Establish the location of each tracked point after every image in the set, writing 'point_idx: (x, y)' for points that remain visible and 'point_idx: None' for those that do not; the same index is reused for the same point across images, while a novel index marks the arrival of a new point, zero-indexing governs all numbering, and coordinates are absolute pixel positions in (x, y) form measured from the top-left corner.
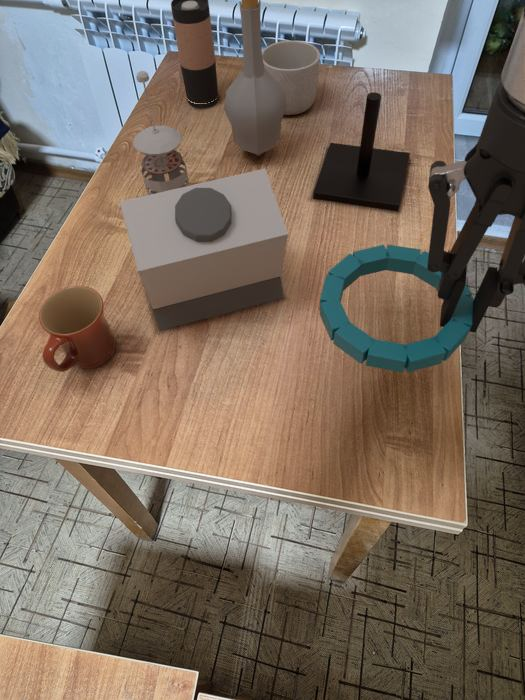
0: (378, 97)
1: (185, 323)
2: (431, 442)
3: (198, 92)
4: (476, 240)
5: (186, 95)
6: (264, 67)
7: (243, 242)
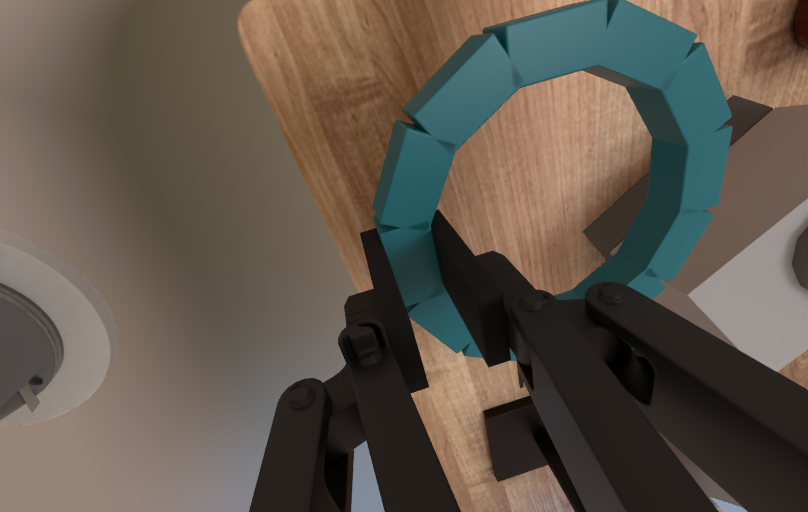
0: None
1: None
2: (319, 117)
3: None
4: (622, 463)
5: None
6: (712, 502)
7: (758, 243)
